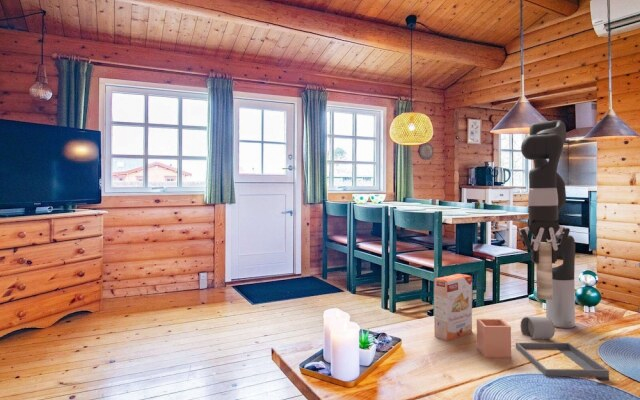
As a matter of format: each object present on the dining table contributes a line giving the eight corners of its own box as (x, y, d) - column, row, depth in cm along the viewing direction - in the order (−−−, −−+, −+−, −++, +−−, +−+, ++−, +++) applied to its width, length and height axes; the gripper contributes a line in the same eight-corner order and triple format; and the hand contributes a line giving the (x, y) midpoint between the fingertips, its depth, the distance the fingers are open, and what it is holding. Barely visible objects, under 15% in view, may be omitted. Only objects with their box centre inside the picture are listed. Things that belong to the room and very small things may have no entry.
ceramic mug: (557, 342, 135) (556, 318, 135) (534, 343, 134) (533, 320, 134) (535, 332, 146) (534, 310, 146) (514, 333, 145) (513, 311, 145)
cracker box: (448, 344, 136) (447, 280, 135) (433, 339, 140) (432, 278, 140) (473, 334, 144) (472, 275, 144) (458, 330, 149) (457, 272, 148)
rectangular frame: (515, 350, 129) (515, 342, 129) (569, 350, 128) (568, 342, 128) (545, 379, 109) (545, 369, 109) (609, 380, 108) (608, 370, 108)
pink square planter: (477, 350, 130) (476, 318, 130) (502, 350, 129) (501, 318, 129) (484, 360, 122) (484, 326, 122) (511, 360, 122) (510, 326, 121)
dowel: (534, 296, 122) (533, 242, 121) (548, 296, 121) (547, 242, 121) (540, 299, 118) (539, 244, 117) (555, 299, 117) (554, 243, 117)
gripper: (562, 202, 122) (563, 260, 122) (512, 204, 124) (513, 261, 124) (575, 203, 115) (576, 265, 115) (522, 205, 116) (523, 265, 116)
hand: (544, 262), depth 119 cm, fingers closed on dowel, 4 cm apart
